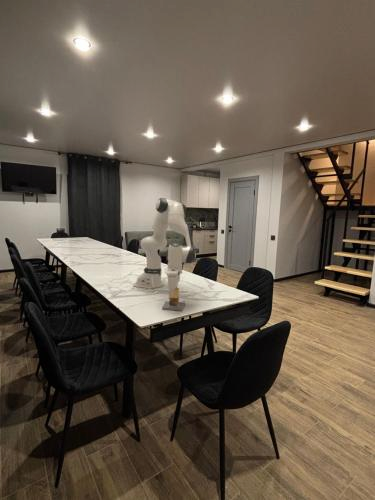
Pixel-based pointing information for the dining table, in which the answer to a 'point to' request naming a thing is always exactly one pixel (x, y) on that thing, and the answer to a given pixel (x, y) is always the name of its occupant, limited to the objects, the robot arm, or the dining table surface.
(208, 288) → the dining table surface
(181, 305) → the plate
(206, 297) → the dining table surface
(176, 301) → the block
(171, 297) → the block
